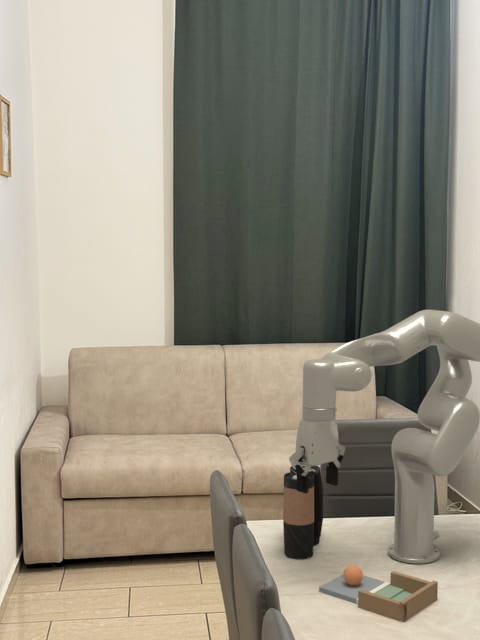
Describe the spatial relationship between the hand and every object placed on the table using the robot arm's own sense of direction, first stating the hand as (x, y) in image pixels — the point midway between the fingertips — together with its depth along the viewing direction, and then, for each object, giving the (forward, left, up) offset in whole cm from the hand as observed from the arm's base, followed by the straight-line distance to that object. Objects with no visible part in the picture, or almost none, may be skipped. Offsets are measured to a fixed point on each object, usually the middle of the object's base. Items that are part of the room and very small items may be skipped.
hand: (317, 488), depth 194 cm
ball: (-1, +10, -18) cm, 21 cm away
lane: (-1, +16, -21) cm, 26 cm away
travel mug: (-10, -12, -22) cm, 27 cm away
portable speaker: (-18, -16, -22) cm, 32 cm away
